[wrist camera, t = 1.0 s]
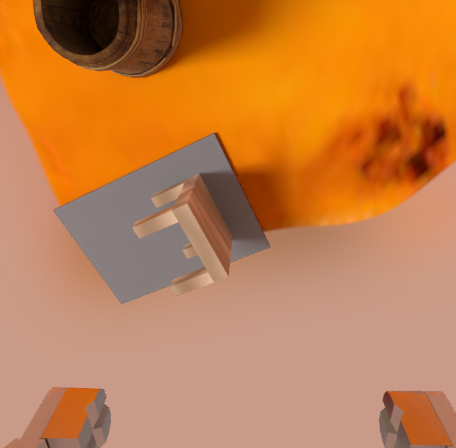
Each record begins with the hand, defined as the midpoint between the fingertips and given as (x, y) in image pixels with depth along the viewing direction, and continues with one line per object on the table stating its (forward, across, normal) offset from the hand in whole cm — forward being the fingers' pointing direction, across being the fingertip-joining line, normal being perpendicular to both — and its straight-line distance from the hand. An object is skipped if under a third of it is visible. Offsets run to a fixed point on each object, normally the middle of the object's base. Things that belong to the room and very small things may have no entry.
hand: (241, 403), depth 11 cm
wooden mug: (+30, +8, -13) cm, 33 cm away
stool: (+29, +6, +7) cm, 31 cm away
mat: (+30, +9, +9) cm, 32 cm away
